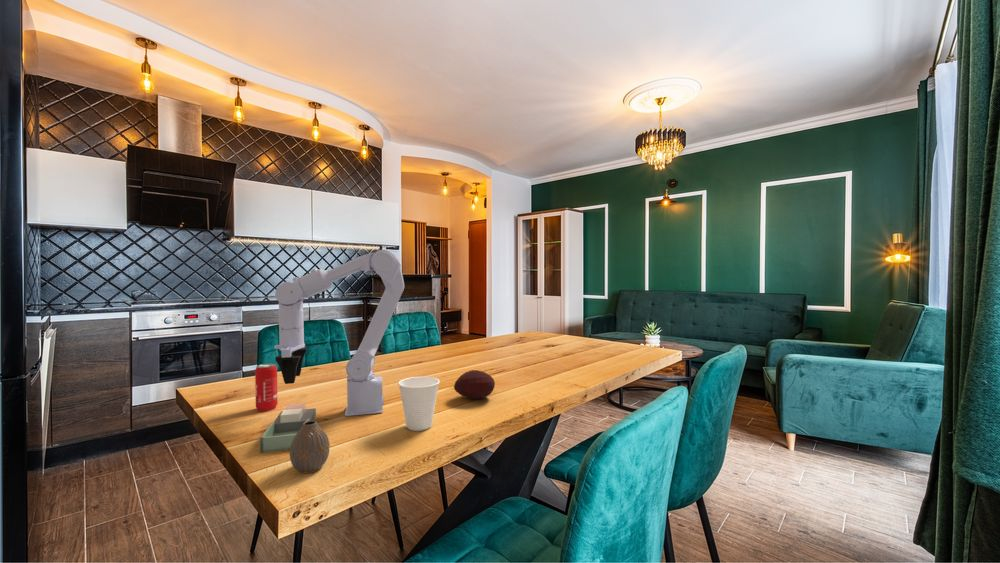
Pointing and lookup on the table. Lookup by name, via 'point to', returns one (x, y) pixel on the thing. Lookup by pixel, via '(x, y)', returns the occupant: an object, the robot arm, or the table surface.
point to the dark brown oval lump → (474, 384)
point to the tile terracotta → (296, 406)
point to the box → (276, 439)
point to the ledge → (294, 425)
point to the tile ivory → (291, 415)
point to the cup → (419, 401)
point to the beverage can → (266, 387)
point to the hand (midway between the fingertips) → (292, 379)
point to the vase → (309, 448)
